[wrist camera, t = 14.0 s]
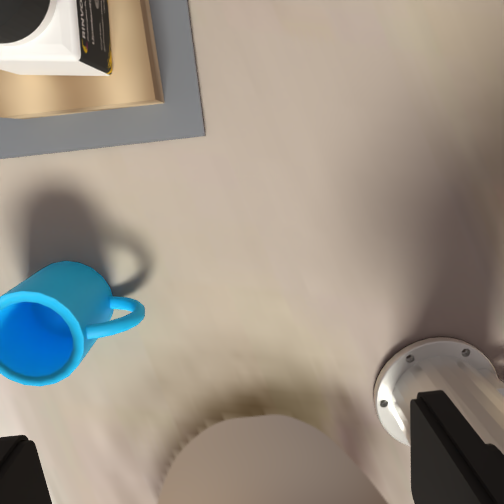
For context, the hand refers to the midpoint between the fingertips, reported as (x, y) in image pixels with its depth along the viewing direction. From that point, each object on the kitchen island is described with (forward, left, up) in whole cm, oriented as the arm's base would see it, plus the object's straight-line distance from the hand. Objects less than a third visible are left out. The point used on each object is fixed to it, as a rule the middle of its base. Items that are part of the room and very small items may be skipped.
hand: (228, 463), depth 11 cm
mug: (+15, +6, -31) cm, 35 cm away
